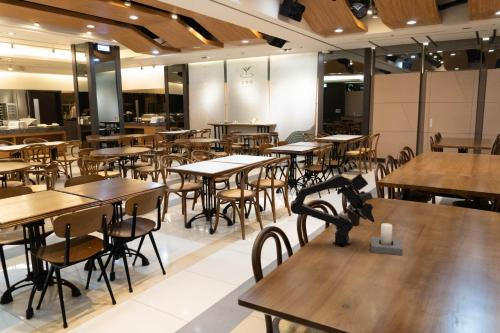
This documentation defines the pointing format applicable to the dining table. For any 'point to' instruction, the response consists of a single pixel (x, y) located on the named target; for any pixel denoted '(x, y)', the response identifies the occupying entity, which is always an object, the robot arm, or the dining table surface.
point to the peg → (386, 234)
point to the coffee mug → (353, 217)
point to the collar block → (386, 246)
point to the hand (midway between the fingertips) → (369, 220)
